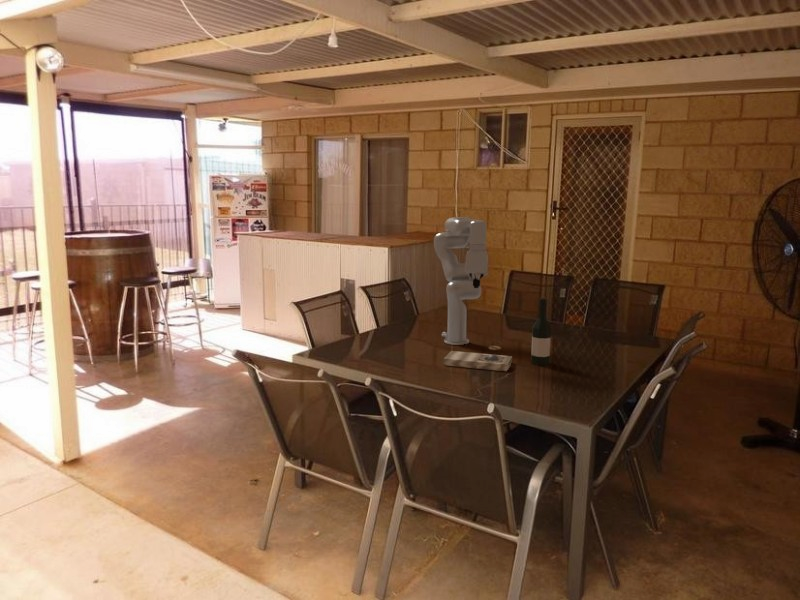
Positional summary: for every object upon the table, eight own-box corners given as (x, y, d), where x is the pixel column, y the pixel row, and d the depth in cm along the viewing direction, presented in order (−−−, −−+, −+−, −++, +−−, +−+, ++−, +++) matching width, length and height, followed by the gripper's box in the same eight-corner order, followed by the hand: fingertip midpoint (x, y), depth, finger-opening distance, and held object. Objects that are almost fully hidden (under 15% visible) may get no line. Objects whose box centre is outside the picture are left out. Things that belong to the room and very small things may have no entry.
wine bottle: (536, 366, 267) (539, 299, 262) (527, 361, 275) (530, 296, 269) (553, 365, 269) (556, 298, 264) (543, 360, 277) (547, 295, 272)
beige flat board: (443, 365, 269) (443, 358, 268) (451, 357, 282) (451, 350, 281) (507, 371, 260) (507, 364, 259) (511, 362, 273) (512, 356, 272)
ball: (497, 353, 265) (501, 363, 266) (495, 352, 270) (499, 362, 271) (486, 357, 266) (490, 368, 266) (485, 356, 271) (489, 366, 271)
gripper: (459, 248, 275) (458, 288, 278) (492, 249, 270) (490, 290, 274) (463, 246, 282) (462, 285, 285) (495, 247, 277) (493, 287, 281)
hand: (476, 287), depth 279 cm, fingers closed
